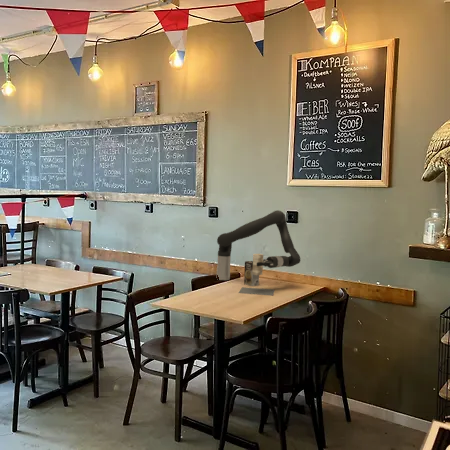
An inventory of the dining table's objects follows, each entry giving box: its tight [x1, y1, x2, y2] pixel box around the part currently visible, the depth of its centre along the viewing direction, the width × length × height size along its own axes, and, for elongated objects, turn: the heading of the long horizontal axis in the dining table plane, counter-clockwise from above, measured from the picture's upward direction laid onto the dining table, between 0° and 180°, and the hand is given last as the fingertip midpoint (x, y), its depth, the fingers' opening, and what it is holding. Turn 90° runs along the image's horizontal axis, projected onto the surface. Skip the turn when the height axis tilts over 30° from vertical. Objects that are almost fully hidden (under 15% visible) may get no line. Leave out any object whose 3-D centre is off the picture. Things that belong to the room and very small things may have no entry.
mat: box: [238, 286, 276, 296], centre depth 306 cm, size 22×17×1 cm
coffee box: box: [243, 260, 260, 287], centre depth 325 cm, size 9×6×16 cm
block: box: [252, 253, 264, 276], centre depth 304 cm, size 5×5×13 cm
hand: (254, 263), depth 303 cm, fingers closed on block, 4 cm apart
